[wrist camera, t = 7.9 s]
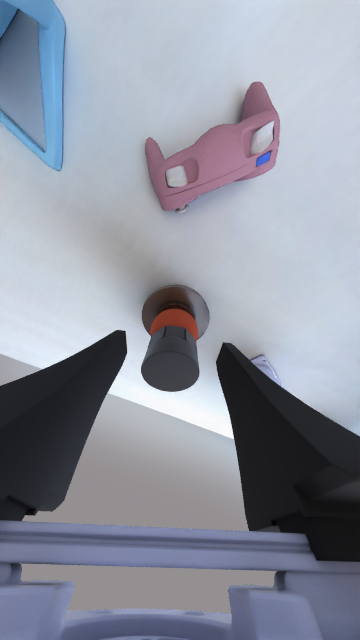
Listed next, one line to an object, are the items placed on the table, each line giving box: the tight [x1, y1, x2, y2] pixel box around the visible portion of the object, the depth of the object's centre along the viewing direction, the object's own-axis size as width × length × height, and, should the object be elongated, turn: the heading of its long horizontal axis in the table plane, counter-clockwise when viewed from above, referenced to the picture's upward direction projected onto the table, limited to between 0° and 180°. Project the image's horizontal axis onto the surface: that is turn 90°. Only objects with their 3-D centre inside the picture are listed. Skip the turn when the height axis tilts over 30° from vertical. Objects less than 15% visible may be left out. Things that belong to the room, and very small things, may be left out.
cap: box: [141, 325, 199, 392], centre depth 13 cm, size 5×5×4 cm
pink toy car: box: [145, 82, 280, 213], centre depth 11 cm, size 10×5×7 cm, turn 108°
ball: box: [150, 309, 198, 341], centre depth 17 cm, size 6×6×6 cm
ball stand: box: [142, 285, 209, 340], centre depth 20 cm, size 10×10×2 cm
